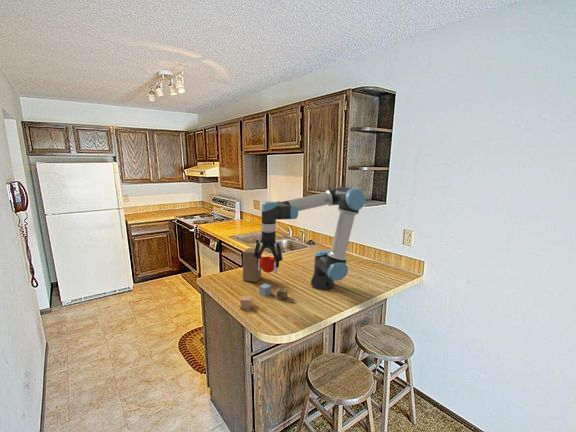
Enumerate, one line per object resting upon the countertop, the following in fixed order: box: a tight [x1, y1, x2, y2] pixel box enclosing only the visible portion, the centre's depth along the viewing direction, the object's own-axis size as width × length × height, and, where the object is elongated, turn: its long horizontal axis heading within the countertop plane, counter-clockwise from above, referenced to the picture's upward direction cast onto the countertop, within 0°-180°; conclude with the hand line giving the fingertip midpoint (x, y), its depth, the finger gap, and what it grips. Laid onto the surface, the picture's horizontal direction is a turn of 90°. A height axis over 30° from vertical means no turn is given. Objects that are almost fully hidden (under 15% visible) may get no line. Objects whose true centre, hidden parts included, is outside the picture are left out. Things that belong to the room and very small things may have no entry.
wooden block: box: [242, 247, 262, 283], centre depth 181 cm, size 10×10×20 cm
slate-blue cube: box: [258, 283, 272, 297], centre depth 162 cm, size 5×5×5 cm
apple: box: [259, 255, 275, 273], centre depth 148 cm, size 9×9×8 cm
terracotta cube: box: [240, 295, 252, 310], centre depth 147 cm, size 5×5×5 cm
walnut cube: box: [276, 287, 288, 301], centre depth 158 cm, size 5×5×5 cm
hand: (267, 271), depth 149 cm, fingers closed on apple, 9 cm apart
